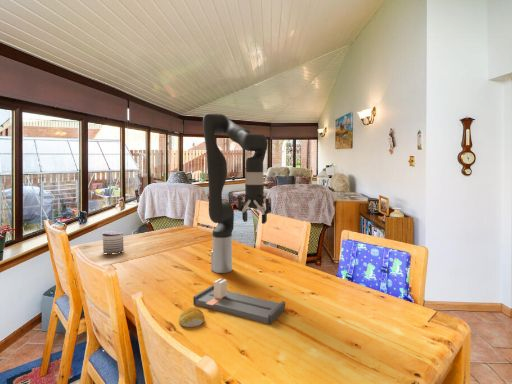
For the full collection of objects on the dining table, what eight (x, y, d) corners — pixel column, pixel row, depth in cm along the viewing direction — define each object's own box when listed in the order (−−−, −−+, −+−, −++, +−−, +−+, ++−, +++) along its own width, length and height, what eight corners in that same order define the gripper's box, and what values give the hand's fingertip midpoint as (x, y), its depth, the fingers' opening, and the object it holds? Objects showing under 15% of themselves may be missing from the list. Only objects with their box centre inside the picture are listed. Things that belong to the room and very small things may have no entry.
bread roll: (201, 313, 114) (201, 302, 114) (206, 325, 106) (206, 314, 106) (177, 317, 112) (177, 305, 111) (180, 329, 103) (180, 318, 103)
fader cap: (214, 297, 121) (213, 281, 121) (220, 293, 125) (220, 278, 124) (220, 299, 120) (220, 283, 119) (226, 294, 124) (226, 279, 123)
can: (100, 252, 189) (99, 231, 187) (120, 248, 196) (119, 228, 195) (106, 256, 180) (105, 235, 179) (127, 252, 188) (126, 232, 187)
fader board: (191, 305, 120) (191, 297, 120) (212, 292, 132) (212, 285, 131) (269, 326, 105) (269, 317, 105) (285, 309, 117) (285, 301, 117)
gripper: (274, 183, 132) (273, 222, 133) (243, 182, 138) (243, 219, 140) (266, 184, 125) (265, 225, 127) (234, 183, 132) (234, 222, 133)
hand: (254, 222), depth 133 cm, fingers open, 8 cm apart
